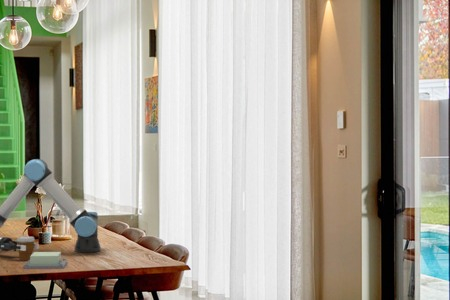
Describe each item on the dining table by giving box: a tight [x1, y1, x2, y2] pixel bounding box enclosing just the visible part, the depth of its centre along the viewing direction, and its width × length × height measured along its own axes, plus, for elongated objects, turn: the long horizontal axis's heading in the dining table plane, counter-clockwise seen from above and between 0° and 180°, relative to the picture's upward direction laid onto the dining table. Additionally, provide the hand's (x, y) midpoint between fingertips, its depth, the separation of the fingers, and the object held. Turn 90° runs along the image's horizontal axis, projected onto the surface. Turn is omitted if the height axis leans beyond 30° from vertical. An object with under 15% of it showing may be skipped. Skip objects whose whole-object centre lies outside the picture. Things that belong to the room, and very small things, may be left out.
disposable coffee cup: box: [16, 235, 36, 261], centre depth 418 cm, size 10×10×12 cm
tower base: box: [22, 251, 68, 270], centre depth 401 cm, size 20×20×6 cm
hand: (31, 247), depth 415 cm, fingers closed on disposable coffee cup, 8 cm apart
